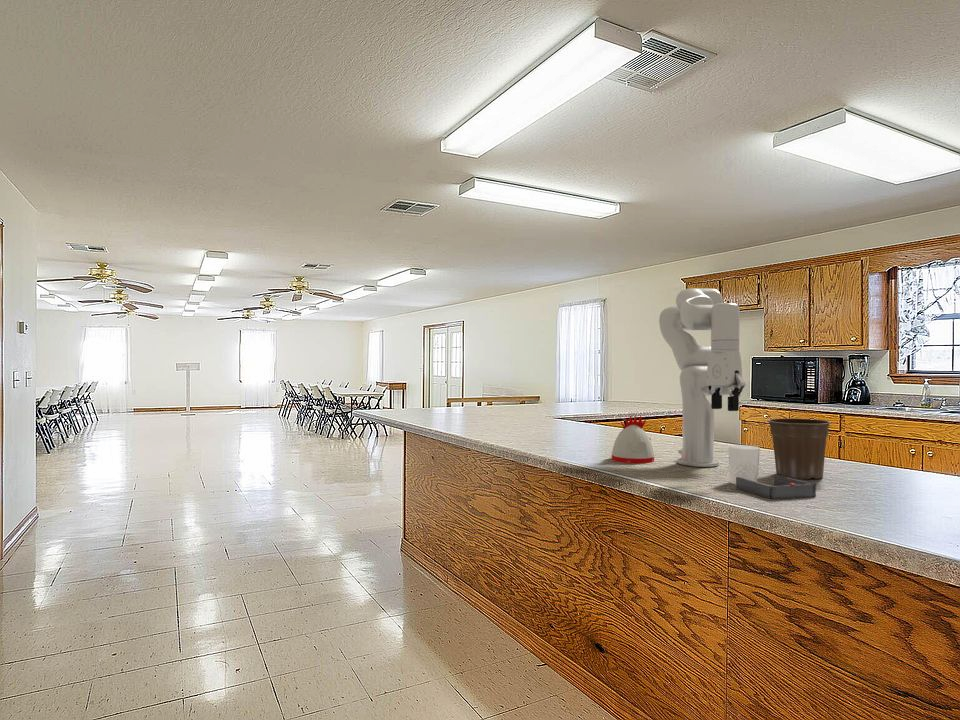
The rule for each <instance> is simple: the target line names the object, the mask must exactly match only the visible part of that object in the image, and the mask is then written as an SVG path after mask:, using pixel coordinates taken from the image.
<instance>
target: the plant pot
mask: <svg viewBox="0 0 960 720" xmlns="http://www.w3.org/2000/svg"><path fill="white" fill-rule="evenodd" d="M767 422H768V423H769V427H770V435H772V446H773V455H774V463H775V465H774V466H775V473H776V474H775V475H780V476H785V477H789V478H793V479H797V480H810V479H814V480H818V479H819V480H820V479H822V478H823V477H824V469H825V468H824V467H825V458H826V456H825V455H826V446H827V438H828V436H829V428H830V425H831V424H832V422H831V421H829V420H824V419H814V418H789V417H788V418H787V417H786V418H771V419H768V420H767Z"/></svg>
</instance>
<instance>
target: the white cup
mask: <svg viewBox="0 0 960 720" xmlns="http://www.w3.org/2000/svg"><path fill="white" fill-rule="evenodd" d="M760 451H761V448H760V447H759V446H756V445H746V444H745V445H744V444H734V445H733V444H731V445H728V468H729V475H730V483H731V484H732V485H735V486H736V477H741V478H745V479H749V480H752V481H756V482H758V476H759V466H760V453H761V452H760Z"/></svg>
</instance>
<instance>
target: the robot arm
mask: <svg viewBox="0 0 960 720" xmlns="http://www.w3.org/2000/svg"><path fill="white" fill-rule="evenodd" d="M675 303H676V304H675V305H676V306H675V305H674V306H670V307H665V308H664V309H663V310H662V311H661V312H660V314H659V317H658V318H659V319H658V321H659V322H658V325H659V330H660V333H661V335H662V337H663V339H664V341H665V342H666V343H667V344H668V346H669V347H670V349H671V352H672V353H673V356H674V359H675V361H676V364H677V367H678V369H679V370H680V375H679V385H680V392H681V399H682V400H681V401H682V447H681V449H678V450H677V452H678V454H680V455H681V457H679V458H677V464H679V465H682V466H686V467H687V466H689V467H696V468H697V467H698V468H699V467H700V468H711V467H717V466H719V465H720V461H719V460H717V459H714V457H715V455H714V453H715V451H714V450H715V449H714V447H715V446H714V445H715V443H714V442H715V438H714V437H715V432H714V431H715V430H714V429H715V411H714V410H722V409H723V396H727V411H729V412H738V411H739V410H740V409H739V408H740V407H739V406H740V402H739V400H740V399H739V398H740V397H741V393H742V392H743V389H744V388H745V386H746V382H745V380H744V379H743V366H742V365H743V364H742V358H741V357H742V356H741V352H740V314H741V313H740V307H739V304H737V303H734V302H733V303H732V302H723V297H722V293H721V292H720V291H719V290H718V289H716V288H710V287H709V288H708V287H707V288H706V287H705V288H704V287H703V288H702V287H700V288H699V287H698V288H697V287H694V288H685V289H682V290H681V291H680V292H679V293H678V294H677V296H676V298H675ZM688 331H710V345H708V346H707V345H698V342H697V340H696V338H695V337H694V336H693V335H692V334H690V333H689V332H688ZM707 396H711V402H710V401H709V400H708V399H707Z"/></svg>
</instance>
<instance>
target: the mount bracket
mask: <svg viewBox="0 0 960 720" xmlns="http://www.w3.org/2000/svg"><path fill="white" fill-rule="evenodd" d="M816 487H817V484H816V483H812V482H809V481H808V482H807V481H804V480H802V479H793V478H789V477H785V476H780V475H777V474H774V475H773V485H770V484H766V483H762V482H759V481H757V482H756V481H752V480H749V479H745V478H741V477H736V485H735V489H737V490H740V491H743V492H745V493H749V494H753V495H756V496H760V497H763V498H766V499H769V500H783V499H797V498H809V497H811V498H812V497H816V496H817V490H816V489H817V488H816Z"/></svg>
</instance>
